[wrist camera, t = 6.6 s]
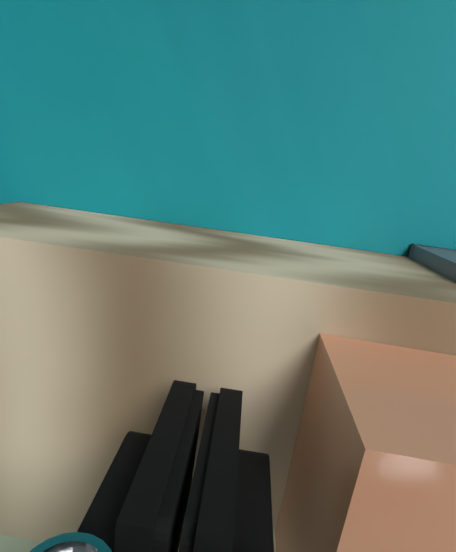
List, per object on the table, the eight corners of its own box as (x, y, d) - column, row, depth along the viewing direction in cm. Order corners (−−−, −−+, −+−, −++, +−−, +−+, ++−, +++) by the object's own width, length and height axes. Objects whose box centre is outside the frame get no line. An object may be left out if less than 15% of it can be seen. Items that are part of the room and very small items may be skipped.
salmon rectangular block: (579, 375, 9) (825, 529, 5) (494, 573, 10) (633, 806, 7) (319, 333, 9) (365, 449, 5) (275, 532, 11) (284, 735, 7)
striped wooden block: (408, 256, 14) (508, 310, 9) (325, 579, 19) (355, 762, 13) (20, 202, 15) (-129, 218, 9) (23, 526, 19) (-79, 678, 13)
